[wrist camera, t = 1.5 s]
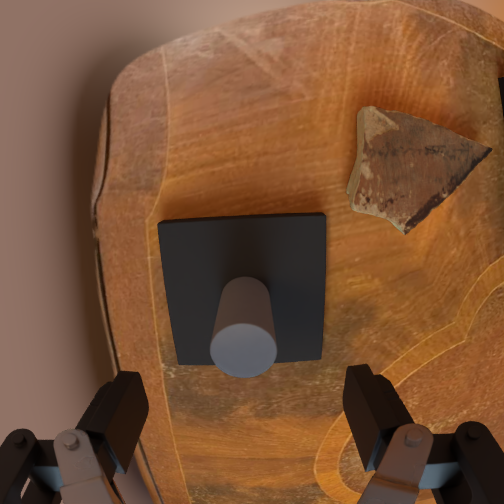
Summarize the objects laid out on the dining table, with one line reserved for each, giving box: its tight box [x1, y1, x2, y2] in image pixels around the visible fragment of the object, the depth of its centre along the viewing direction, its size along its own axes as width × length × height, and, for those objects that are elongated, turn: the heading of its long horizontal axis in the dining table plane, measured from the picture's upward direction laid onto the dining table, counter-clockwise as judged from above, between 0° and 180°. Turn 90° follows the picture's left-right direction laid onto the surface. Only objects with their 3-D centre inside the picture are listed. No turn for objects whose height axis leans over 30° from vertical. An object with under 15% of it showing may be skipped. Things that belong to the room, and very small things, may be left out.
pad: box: [157, 212, 326, 378], centre depth 17 cm, size 10×10×7 cm
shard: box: [346, 106, 492, 235], centre depth 17 cm, size 11×8×2 cm
